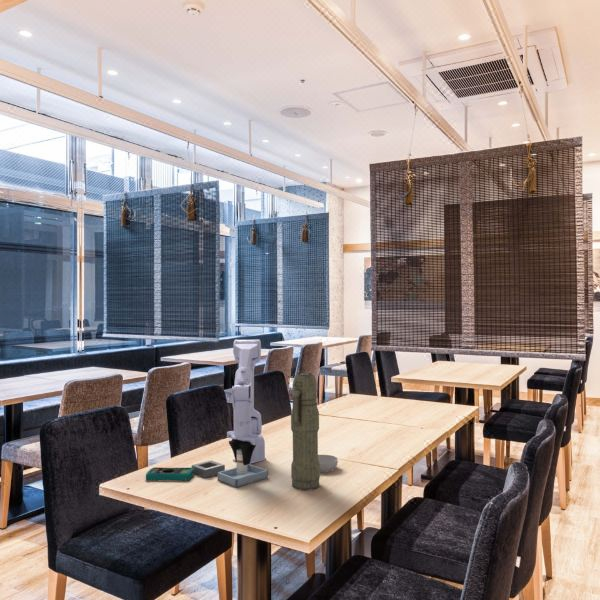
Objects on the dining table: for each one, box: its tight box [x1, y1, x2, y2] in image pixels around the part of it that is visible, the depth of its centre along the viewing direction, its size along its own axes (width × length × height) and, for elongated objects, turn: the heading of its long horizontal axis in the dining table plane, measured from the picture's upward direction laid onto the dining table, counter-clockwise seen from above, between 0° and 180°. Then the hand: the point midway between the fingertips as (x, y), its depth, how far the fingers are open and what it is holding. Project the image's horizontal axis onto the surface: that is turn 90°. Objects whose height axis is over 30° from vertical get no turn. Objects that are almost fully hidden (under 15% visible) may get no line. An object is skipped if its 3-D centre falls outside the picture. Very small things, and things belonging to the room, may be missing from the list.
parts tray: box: [216, 464, 269, 489], centre depth 177 cm, size 13×10×2 cm
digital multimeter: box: [145, 466, 194, 482], centre depth 180 cm, size 7×15×3 cm, turn 86°
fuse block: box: [191, 459, 226, 479], centre depth 185 cm, size 8×8×3 cm
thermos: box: [290, 372, 321, 491], centre depth 171 cm, size 9×12×35 cm
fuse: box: [236, 449, 248, 475], centre depth 177 cm, size 4×4×8 cm
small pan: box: [318, 454, 339, 473], centre depth 190 cm, size 11×18×4 cm, turn 48°
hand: (242, 463), depth 177 cm, fingers closed on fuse, 4 cm apart
